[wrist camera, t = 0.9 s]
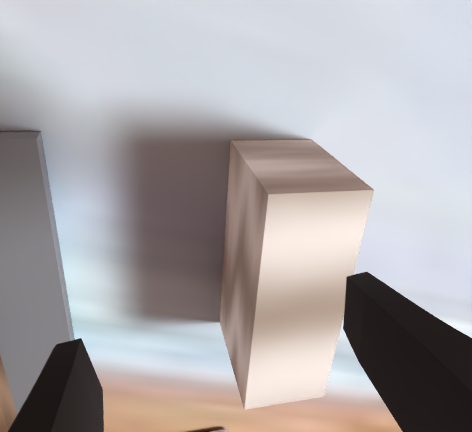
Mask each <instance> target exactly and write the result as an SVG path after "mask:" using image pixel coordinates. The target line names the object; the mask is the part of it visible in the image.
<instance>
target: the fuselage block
mask: <svg viewBox="0 0 472 432" xmlns="http://www.w3.org/2000/svg"><path fill="white" fill-rule="evenodd" d="M373 192H374V190H373V189H372V188H371V187H370V186H368V185H367V184H366V183H365V182H363V181H362V180H361V179H360V178H359V177H357V176H356V175H355V174H354V173H352V172H351V171H350V170H349V169H347V168H346V167H345V166H344V165H342V164H341V163H340V162H339V161H338V160H336V159H335V158H334V157H333V156H331V155H330V154H329V153H328V152H326V151H325V150H324V149H323V148H321V147H320V146H319V145H318V144H317V143H315V142H314V141H313V140H231V145H230V162H229V178H228V195H227V211H226V227H225V244H224V260H223V277H222V293H221V310H220V325H221V329H222V332H223V336H224V339H225V343H226V346H227V350H228V353H229V357H230V360H231V364H232V368H233V371H234V375H235V378H236V382H237V385H238V389H239V392H240V396H241V399H242V403H243V406H244V410H245V409H251V408H257V407H263V406H269V405H275V404H281V403H287V402H293V401H300V400H306V399H312V398H318V397H324V395H325V390H326V386H327V382H328V378H329V374H330V370H331V366H332V361H333V357H334V353H335V349H336V345H337V341H338V337H339V332H340V328H341V324H342V320H343V316H344V309H345V293H346V278H347V276H351V275H353V274H354V270H355V266H356V262H357V258H358V254H359V250H360V245H361V241H362V237H363V233H364V229H365V225H366V221H367V216H368V212H369V208H370V204H371V200H372V196H373Z"/></svg>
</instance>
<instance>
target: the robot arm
mask: <svg viewBox="0 0 472 432" xmlns="http://www.w3.org/2000/svg"><path fill="white" fill-rule="evenodd" d="M343 329H344V331H345V333H346V336H347V338H348V340H349V342H350V344H351V347H352V349H353V351H354V353H355V355H356V357H357V359H358V361H359V363H360V364H361V366H362V368H363V369H364V371H365V372H366V374H367V376H368V377H369V379H370V380H371V382H372V384H373V385H374V387H375V389H376V390H377V392H378V393H379V395H380V396H381V398H382V400H383V401H384V403H385V404H386V406H387V407H388V409H389V411H390V412H391V414H392V415H393V417H394V419H395V420H396V422H397V423H398V425H399V427H400V428H401V430H402V431H403V432H472V338H470V337H469V336H467V335H465V334H463V333H462V332H460V331H458V330H456V329H455V328H453V327H451V326H450V325H448V324H446V323H445V322H443V321H441V320H440V319H438V318H436V317H435V316H433V315H432V314H430V313H429V312H427V311H425V310H424V309H422V308H421V307H419V306H418V305H416V304H415V303H413V302H411V301H410V300H408V299H407V298H405V297H404V296H402V295H401V294H399V293H398V292H396V291H395V290H394V289H392V288H391V287H389V286H388V285H386V284H385V283H383V282H382V281H380V280H379V279H377V278H376V277H374V276H373V275H371V274H370V273H368V272H364V273H360V274H355V275H351V276H347V278H346V293H345V309H344V325H343ZM103 431H104V421H103V389H102V387H101V384H100V382H99V379H98V377H97V375H96V372H95V370H94V368H93V365H92V363H91V360H90V358H89V356H88V353H87V351H86V348H85V346H84V344H83V341H82V339H76V340H72V341H68V342H63V343H59V344H56V345H55V347H54V348H53V350H52V352H51V354H50V356H49V358H48V360H47V361H46V363H45V365H44V367H43V369H42V371H41V373H40V375H39V377H38V379H37V380H36V382H35V384H34V386H33V388H32V390H31V391H30V393H29V395H28V397H27V399H26V401H25V402H24V404H23V406H22V407H21V409H20V411H19V413H18V414H17V416H16V418H15V420H14V421H13V423H12V425H11V427H10V428H9V430H8V432H103ZM211 432H228V431H227V430H217V431H211Z"/></svg>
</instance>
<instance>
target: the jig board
mask: <svg viewBox="0 0 472 432" xmlns="http://www.w3.org/2000/svg"><path fill="white" fill-rule="evenodd" d="M72 340H74V333H73V327H72V321H71V315H70V309H69V303H68V296H67V290H66V284H65V278H64V272H63V266H62V259H61V253H60V247H59V241H58V235H57V229H56V222H55V216H54V210H53V204H52V198H51V192H50V185H49V179H48V173H47V167H46V161H45V155H44V148H43V142H42V136H41V131H9V132H0V432H8V430H9V428H10V427H11V425H12V423H13V421H14V420H15V418H16V416H17V414H18V413H19V411H20V409H21V407H22V406H23V404H24V402H25V401H26V399H27V397H28V395H29V393H30V391H31V390H32V388H33V386H34V384H35V382H36V380H37V379H38V377H39V375H40V373H41V371H42V369H43V367H44V365H45V363H46V361H47V360H48V358H49V356H50V354H51V352H52V350H53V348H54V347H55V345H56V344H59V343H63V342H68V341H72Z"/></svg>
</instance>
